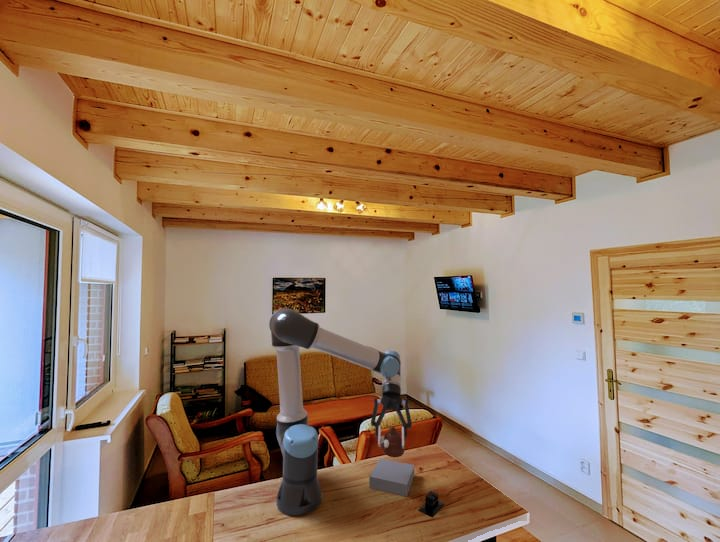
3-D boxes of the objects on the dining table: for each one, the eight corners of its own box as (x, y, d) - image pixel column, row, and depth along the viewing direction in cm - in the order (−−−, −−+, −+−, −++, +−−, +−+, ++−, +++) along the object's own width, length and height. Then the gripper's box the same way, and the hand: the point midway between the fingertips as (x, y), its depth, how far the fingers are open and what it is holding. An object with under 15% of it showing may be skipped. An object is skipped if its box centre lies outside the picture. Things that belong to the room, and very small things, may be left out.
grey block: (369, 487, 122) (369, 476, 122) (379, 468, 135) (380, 458, 135) (406, 496, 117) (407, 484, 117) (414, 475, 130) (414, 465, 130)
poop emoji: (408, 456, 119) (408, 430, 120) (386, 460, 117) (386, 433, 117) (397, 443, 129) (397, 419, 129) (376, 446, 126) (376, 421, 127)
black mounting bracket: (432, 524, 105) (432, 509, 105) (412, 513, 109) (412, 499, 109) (449, 504, 114) (449, 490, 114) (430, 495, 119) (430, 482, 119)
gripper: (416, 392, 137) (419, 451, 121) (366, 390, 139) (363, 448, 123) (417, 383, 132) (420, 443, 116) (365, 381, 134) (361, 440, 118)
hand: (391, 446), depth 119 cm, fingers closed on poop emoji, 8 cm apart
